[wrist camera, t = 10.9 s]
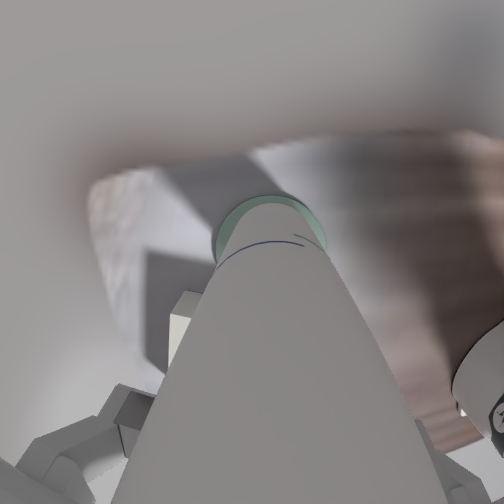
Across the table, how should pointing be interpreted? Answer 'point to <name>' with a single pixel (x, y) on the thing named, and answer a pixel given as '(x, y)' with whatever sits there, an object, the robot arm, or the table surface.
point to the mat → (240, 210)
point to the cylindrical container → (278, 390)
